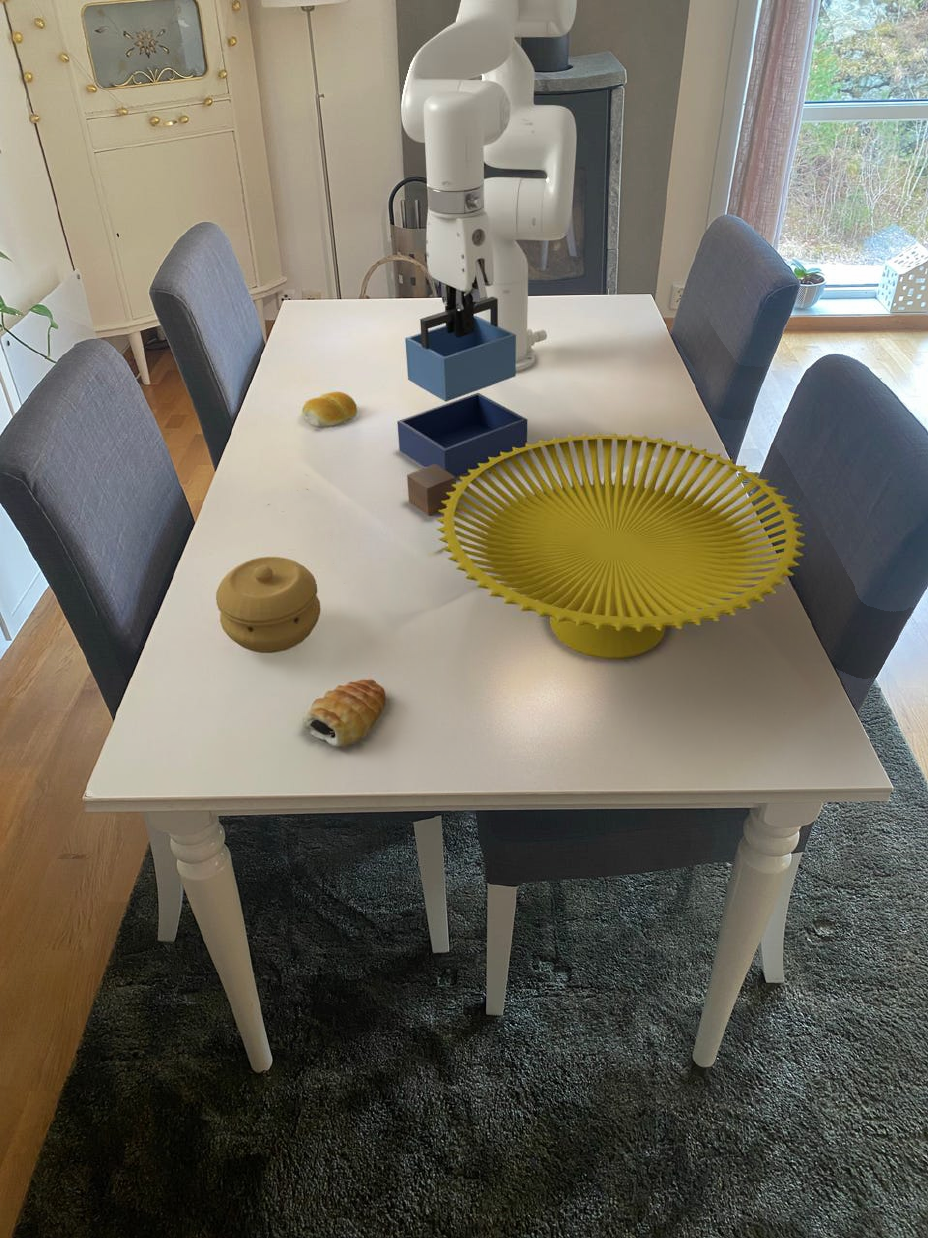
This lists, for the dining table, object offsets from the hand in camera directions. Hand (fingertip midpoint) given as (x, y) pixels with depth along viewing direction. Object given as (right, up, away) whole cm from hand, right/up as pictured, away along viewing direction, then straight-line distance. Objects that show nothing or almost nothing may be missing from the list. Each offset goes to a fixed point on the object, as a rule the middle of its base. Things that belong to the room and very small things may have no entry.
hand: (460, 331), depth 137 cm
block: (-4, -25, -1) cm, 26 cm away
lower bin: (0, -15, +12) cm, 19 cm away
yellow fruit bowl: (+18, -42, -22) cm, 51 cm away
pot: (-22, -44, -23) cm, 54 cm away
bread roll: (-22, -8, +23) cm, 32 cm away
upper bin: (0, -6, +5) cm, 7 cm away
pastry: (-12, -53, -35) cm, 64 cm away
